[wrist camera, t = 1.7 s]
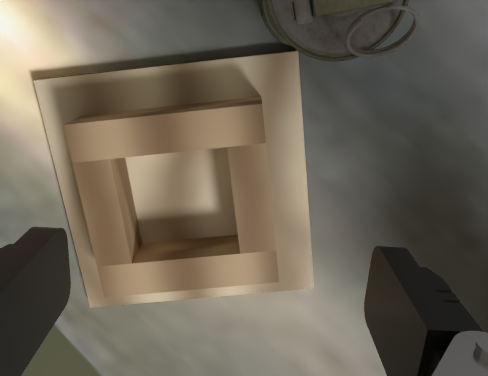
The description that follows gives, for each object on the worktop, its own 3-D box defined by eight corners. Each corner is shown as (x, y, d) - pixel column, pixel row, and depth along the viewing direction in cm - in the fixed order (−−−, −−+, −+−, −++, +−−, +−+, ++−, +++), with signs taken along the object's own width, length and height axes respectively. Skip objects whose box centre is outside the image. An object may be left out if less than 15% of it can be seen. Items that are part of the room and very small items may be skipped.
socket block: (296, 50, 32) (303, 53, 28) (312, 282, 37) (319, 311, 34) (38, 79, 32) (10, 86, 29) (93, 302, 38) (76, 332, 34)
